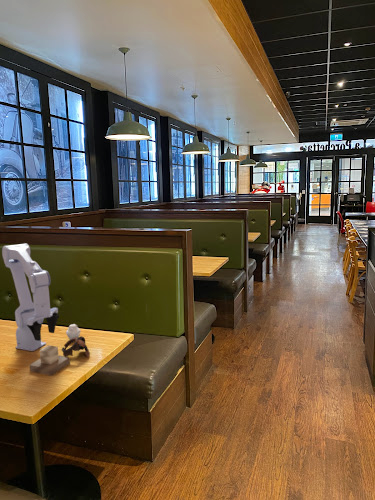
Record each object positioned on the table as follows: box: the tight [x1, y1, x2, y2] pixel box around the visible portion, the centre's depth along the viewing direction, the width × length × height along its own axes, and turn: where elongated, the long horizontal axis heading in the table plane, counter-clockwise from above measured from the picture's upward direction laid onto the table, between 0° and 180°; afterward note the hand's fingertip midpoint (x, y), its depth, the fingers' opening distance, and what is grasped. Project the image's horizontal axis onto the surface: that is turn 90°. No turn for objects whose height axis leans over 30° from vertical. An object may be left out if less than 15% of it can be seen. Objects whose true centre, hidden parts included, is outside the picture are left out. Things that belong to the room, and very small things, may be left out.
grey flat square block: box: [29, 355, 71, 377], centre depth 141 cm, size 10×10×3 cm
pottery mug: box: [61, 335, 90, 359], centre depth 150 cm, size 12×10×8 cm
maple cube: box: [39, 344, 60, 365], centre depth 140 cm, size 4×4×5 cm
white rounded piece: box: [65, 323, 81, 340], centre depth 165 cm, size 6×6×7 cm
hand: (44, 336), depth 146 cm, fingers open, 7 cm apart
